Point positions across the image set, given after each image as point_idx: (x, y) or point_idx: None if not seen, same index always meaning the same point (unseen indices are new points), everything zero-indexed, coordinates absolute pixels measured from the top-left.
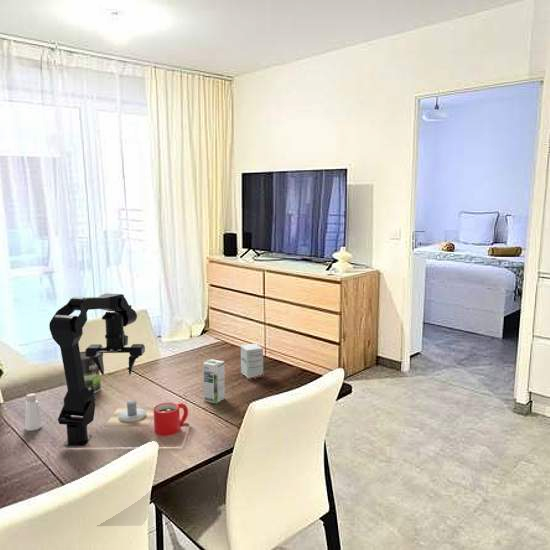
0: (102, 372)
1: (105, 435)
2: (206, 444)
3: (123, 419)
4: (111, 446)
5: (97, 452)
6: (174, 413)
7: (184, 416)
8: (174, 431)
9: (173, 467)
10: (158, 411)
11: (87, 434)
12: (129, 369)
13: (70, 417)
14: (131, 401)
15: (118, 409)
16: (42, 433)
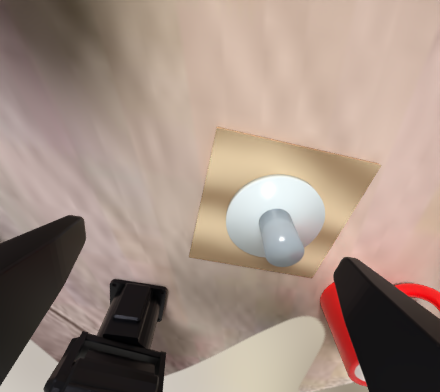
0: (69, 271)
1: (199, 287)
2: None
3: (244, 249)
4: (219, 324)
5: (194, 334)
6: None
7: (427, 300)
8: None
9: (323, 380)
10: None
11: (157, 314)
12: (360, 346)
13: (90, 346)
14: (285, 242)
15: (221, 149)
16: None
